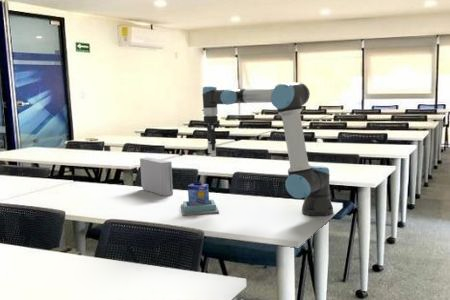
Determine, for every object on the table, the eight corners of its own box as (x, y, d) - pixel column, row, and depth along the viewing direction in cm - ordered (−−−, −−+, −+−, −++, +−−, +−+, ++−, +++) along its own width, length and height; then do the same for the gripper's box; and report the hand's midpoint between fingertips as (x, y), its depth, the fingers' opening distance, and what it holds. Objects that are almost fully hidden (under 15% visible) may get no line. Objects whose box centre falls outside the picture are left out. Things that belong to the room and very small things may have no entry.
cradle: (218, 213, 248) (218, 206, 248) (183, 215, 246) (182, 209, 246) (214, 203, 268) (214, 197, 268) (181, 206, 266) (180, 199, 265)
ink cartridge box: (188, 208, 256) (187, 181, 254) (191, 206, 261) (190, 179, 259) (206, 209, 253) (205, 181, 251) (209, 206, 258) (208, 179, 257)
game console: (164, 196, 290) (163, 163, 287) (141, 189, 311) (139, 158, 308) (173, 194, 294) (171, 161, 291) (149, 188, 315) (147, 157, 312)
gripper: (201, 114, 276) (202, 151, 279) (205, 117, 252) (207, 158, 255) (214, 113, 277) (216, 151, 280) (220, 116, 253) (221, 157, 256)
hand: (211, 154), depth 267 cm, fingers open, 13 cm apart
